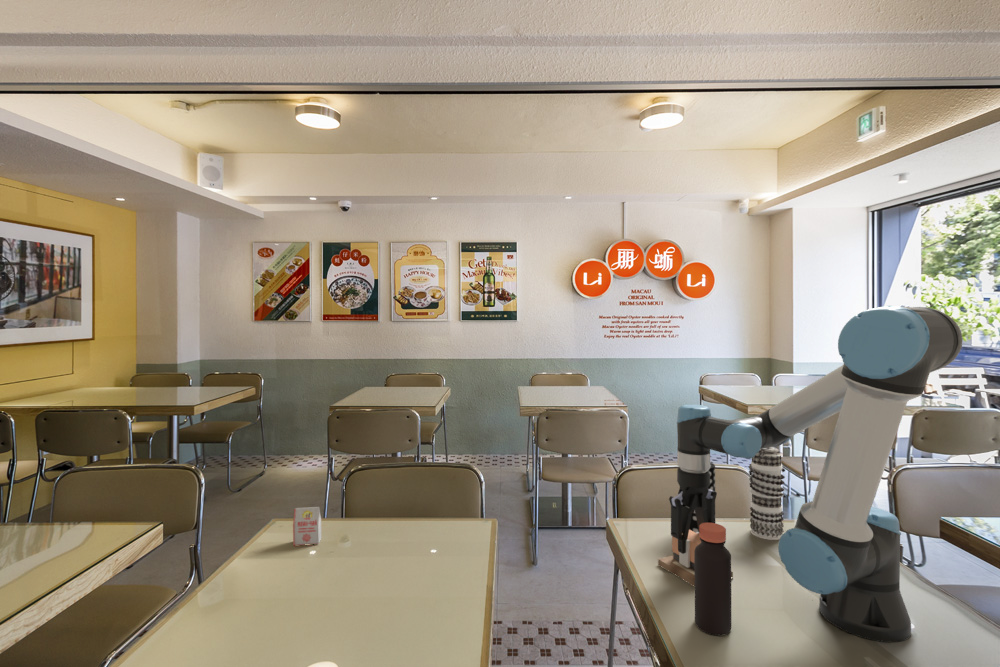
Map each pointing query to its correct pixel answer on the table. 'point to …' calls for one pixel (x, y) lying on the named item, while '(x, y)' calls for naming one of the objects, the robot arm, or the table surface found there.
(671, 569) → the pin board
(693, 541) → the block
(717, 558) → the bottle
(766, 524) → the decorative candle
